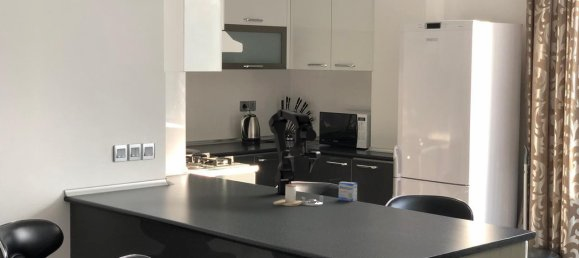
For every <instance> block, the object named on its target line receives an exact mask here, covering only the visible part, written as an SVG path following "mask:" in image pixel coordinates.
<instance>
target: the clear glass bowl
mask: <svg viewBox="0 0 579 258" xmlns="http://www.w3.org/2000/svg"><path fill="white" fill-rule="evenodd" d="M318 198H319V200H317V199H315V198H309V199H307V200H306V196H301V201H302V204H301V205H302V206H308V207H309V206H310V207H318V206H322V205H323V204H324V195H319V197H318Z"/></svg>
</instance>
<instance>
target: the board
mask: <svg viewBox="0 0 579 258" xmlns="http://www.w3.org/2000/svg"><path fill="white" fill-rule="evenodd" d="M273 205H276V206H277V205H279V206H290V207H297V206H298V205H302V200H296V202H295V203H287V202H285V198H284V199H282V198H281V199H279V200H276V201H273Z"/></svg>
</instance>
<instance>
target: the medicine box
mask: <svg viewBox="0 0 579 258" xmlns="http://www.w3.org/2000/svg"><path fill="white" fill-rule="evenodd" d="M338 201H341V202H343V201H345V202H357V201H358V182H353V181H351V182H349V181H340V182H339V181H338Z"/></svg>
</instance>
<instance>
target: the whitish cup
mask: <svg viewBox="0 0 579 258" xmlns="http://www.w3.org/2000/svg"><path fill="white" fill-rule="evenodd" d="M284 195H285V196H284V197H285V198H284V199H285V202H287V203H295V202H296V199H297V197H296V195H297V185H296V184H294V183H291V184H286V191H285V194H284Z"/></svg>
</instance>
